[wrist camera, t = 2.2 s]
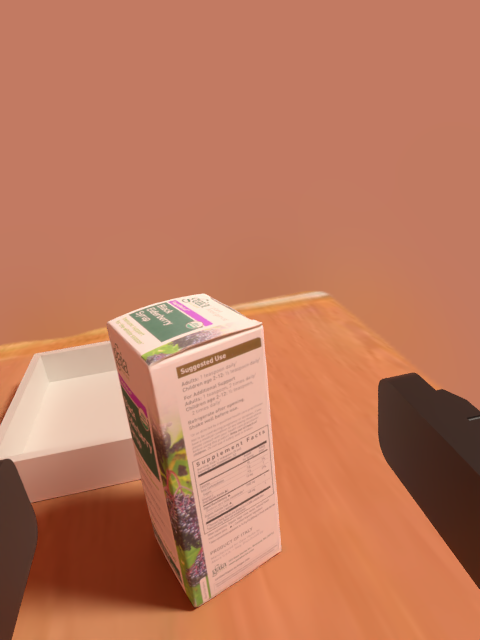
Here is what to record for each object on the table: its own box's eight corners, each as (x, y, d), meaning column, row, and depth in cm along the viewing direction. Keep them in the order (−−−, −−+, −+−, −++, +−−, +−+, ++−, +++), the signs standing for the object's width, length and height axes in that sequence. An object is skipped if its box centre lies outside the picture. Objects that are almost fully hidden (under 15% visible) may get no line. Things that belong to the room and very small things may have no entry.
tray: (-3, 510, 31) (-21, 468, 30) (44, 385, 46) (34, 353, 44) (234, 459, 33) (228, 418, 32) (206, 355, 48) (201, 324, 47)
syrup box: (152, 537, 28) (96, 320, 22) (234, 491, 30) (204, 286, 25) (195, 613, 23) (139, 364, 17) (287, 551, 26) (267, 317, 20)
